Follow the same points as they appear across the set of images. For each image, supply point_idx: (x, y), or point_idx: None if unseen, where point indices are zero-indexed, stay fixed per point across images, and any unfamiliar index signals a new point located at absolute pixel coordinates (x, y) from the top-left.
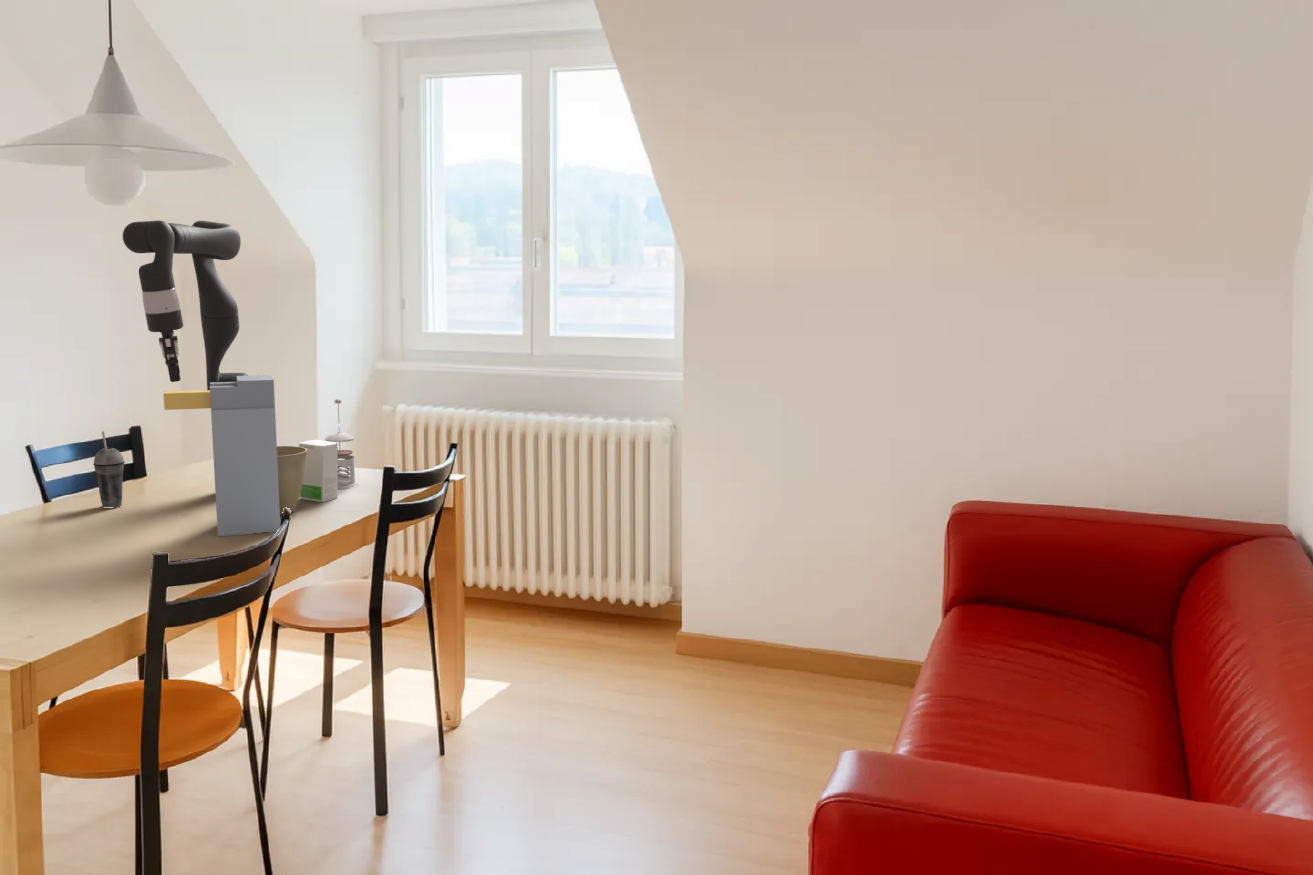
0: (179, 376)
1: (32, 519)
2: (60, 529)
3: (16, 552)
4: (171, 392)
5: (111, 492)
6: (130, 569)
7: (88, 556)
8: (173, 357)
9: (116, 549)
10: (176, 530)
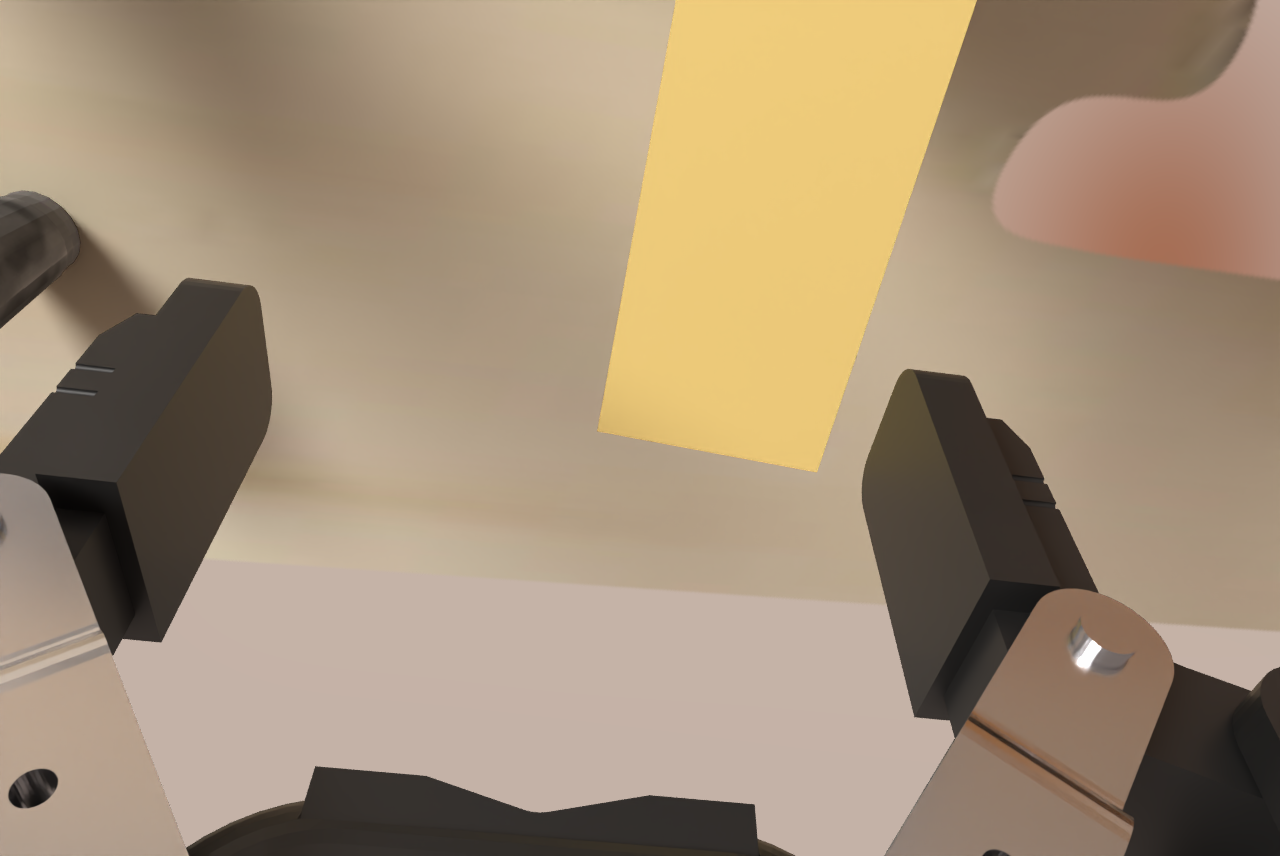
0: (981, 420)
1: None
2: (416, 445)
3: (700, 581)
4: (757, 373)
5: (37, 264)
6: (1207, 309)
7: None
8: (94, 582)
9: None
10: (644, 28)
